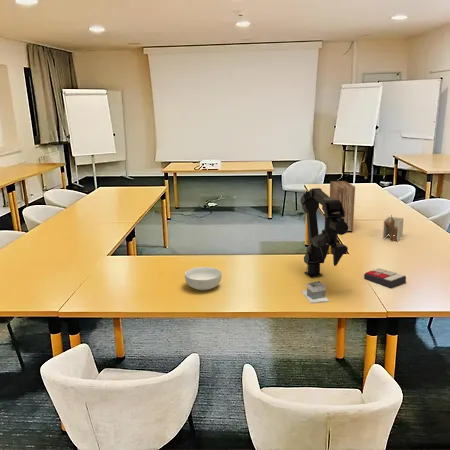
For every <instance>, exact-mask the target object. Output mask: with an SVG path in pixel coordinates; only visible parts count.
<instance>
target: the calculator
mask: <svg viewBox="0 0 450 450" xmlns="http://www.w3.org/2000/svg"><path fill="white" fill-rule="evenodd" d="M363 278H364V280H366V281H368V282H370V283H371V282H372V283H373V284H374V283H375V284H376V285H381V286H383V287H385V288H388V289H390V290H391V289H394V288H397V287H401V286H403V285H405V284H406V282H407V276H406V275H404V274H401V273H397V272H395V271H391V270H387V269H383V268H381V267H380V268H375V269H372V270H369V271H367V272H365V273H364V274H363Z"/></svg>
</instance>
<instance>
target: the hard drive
mask: <svg viewBox="0 0 450 450" xmlns="http://www.w3.org/2000/svg"><path fill="white" fill-rule="evenodd" d="M301 293H302V294H303V296H304V297H305V299H307V301H308V302H309V304H311V305H313V304H320V303H321V304H323V303H330V300H329V298H328V297H327V296H325V297H324V298H318V299H312V298H310V297H309V296H308V295H307V289H305V290H301Z"/></svg>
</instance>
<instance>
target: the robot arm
mask: <svg viewBox="0 0 450 450" xmlns="http://www.w3.org/2000/svg"><path fill="white" fill-rule="evenodd" d="M300 205H301V208H302V210H303V211H304V213H305V215H306V225H307V232H308V233H307V234H308V241H309V242H308V243H309V244H308V246H307V247H306V253H305V255H304V256H303V262H304V263H305V265H307V271H304V274H305V275H307V276H308V277H309V278H317V277H322V276H323V274H322V273H321V264H324V263H325V260H326V258H327V256H328V253H329V248H330V253H331V254H332V256H333V257H332V261H333V262H332V263H333V266H334V267H337V265H338V263H340V260H341V259H342V257H343V256H344V254H347V253H348V250H349V248H348V246H347V245H345V244H343V243H340V239H338V236H344V235H345V234H346V233H348V232H347V231H348V224H347V223H346V222H344V218H342V217H345V211H344V209H343V206H342V203H341V201H340V200H339V199H336V198H330V195H328V194H327V193H326V192H325V191H323V189H322V188H320V187H314V188H311V189H309V190H308V191H307V192H304V194H302V196H301V197H300ZM320 205H321V206H322V207H321V210H322V212H323V216H324V228H323V229H322V230H321V233H319V225H318V224H319V223H318V216H317V212H318V210H319V207H320ZM333 213H336V214H333Z"/></svg>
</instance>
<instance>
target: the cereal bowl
mask: <svg viewBox="0 0 450 450" xmlns="http://www.w3.org/2000/svg"><path fill="white" fill-rule="evenodd" d="M184 279H185V282H186V284H187V285H188V286H189V287H191V288H193V289H195V290H198V291H209V290H211V289H213V288H215V287H217V286H218V285H220V282H221V280H222V271H221V270H220V269H218V268H216V267H211V266H198V267H192V268H190V269H188V270H186V271H185V273H184Z"/></svg>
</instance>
